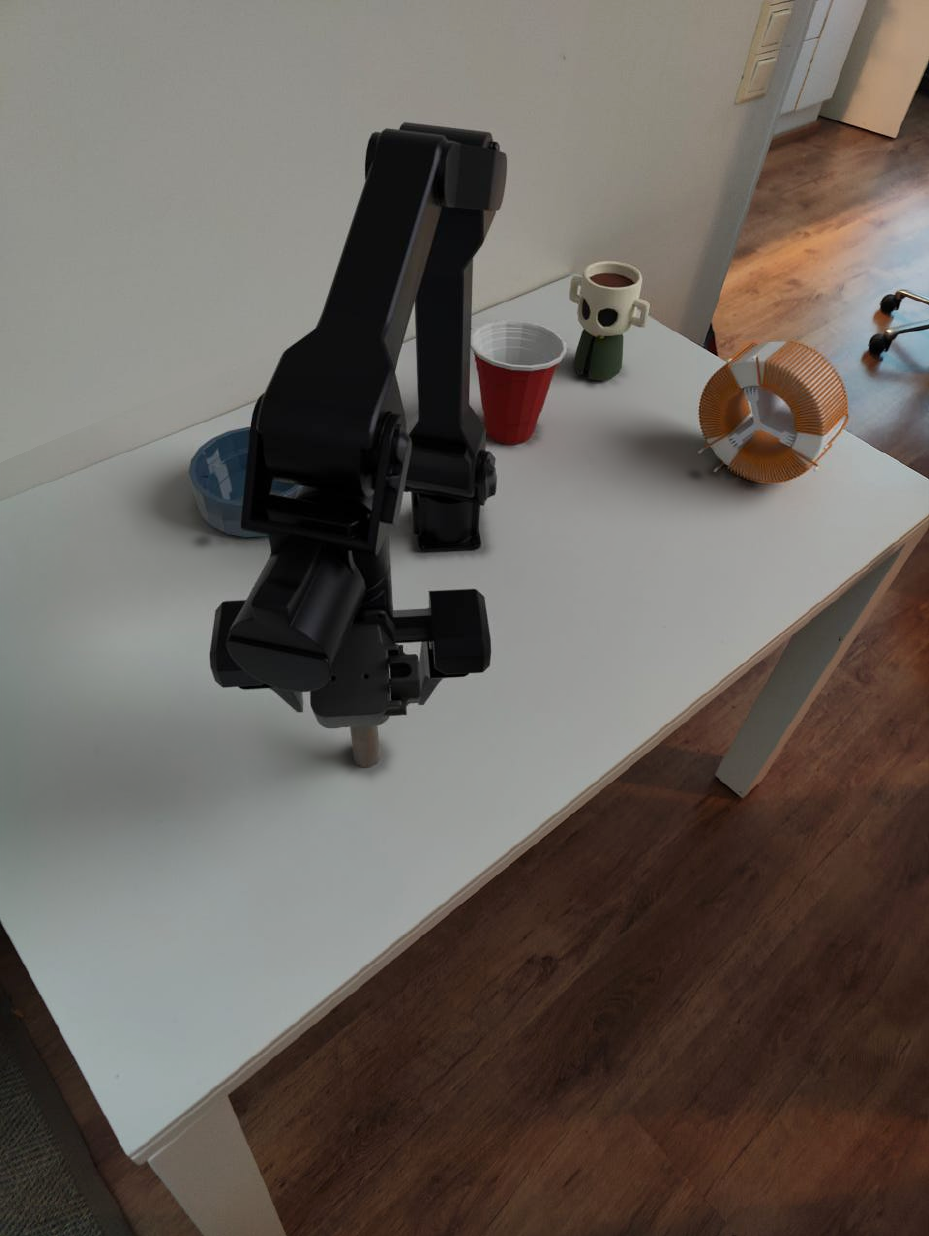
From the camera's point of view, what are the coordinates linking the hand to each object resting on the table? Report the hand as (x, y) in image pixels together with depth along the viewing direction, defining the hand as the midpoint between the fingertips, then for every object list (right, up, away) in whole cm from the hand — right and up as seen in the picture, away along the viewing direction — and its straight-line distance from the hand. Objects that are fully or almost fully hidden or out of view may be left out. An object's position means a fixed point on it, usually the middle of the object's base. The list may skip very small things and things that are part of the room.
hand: (361, 704), depth 63 cm
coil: (+41, +24, +32) cm, 57 cm away
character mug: (+25, +39, +45) cm, 64 cm away
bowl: (-14, +19, +26) cm, 36 cm away
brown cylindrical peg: (0, -5, +6) cm, 8 cm away
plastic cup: (+14, +29, +36) cm, 48 cm away
